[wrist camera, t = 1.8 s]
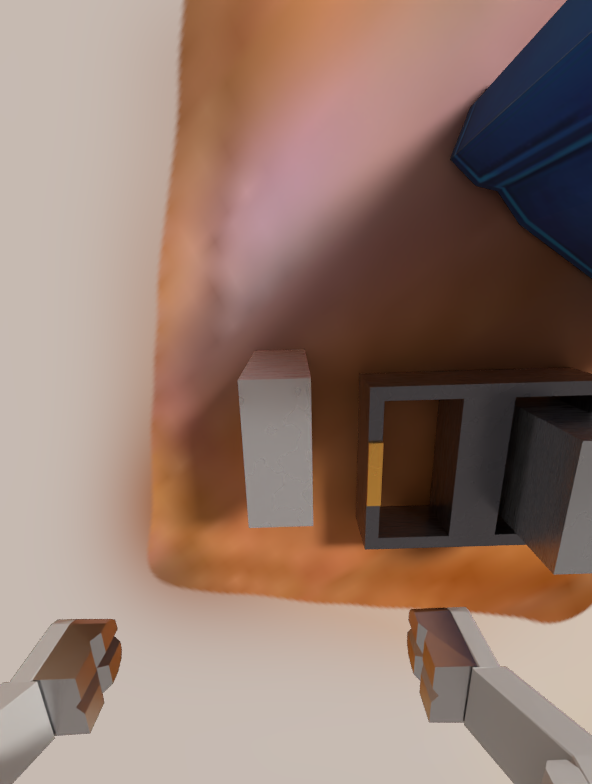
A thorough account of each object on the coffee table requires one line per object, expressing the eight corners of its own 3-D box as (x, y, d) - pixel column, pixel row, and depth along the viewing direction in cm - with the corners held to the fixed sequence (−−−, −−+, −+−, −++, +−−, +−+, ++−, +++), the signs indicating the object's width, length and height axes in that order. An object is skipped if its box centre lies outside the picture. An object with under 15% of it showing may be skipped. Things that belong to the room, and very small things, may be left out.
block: (254, 350, 27) (237, 380, 18) (304, 349, 27) (310, 378, 18) (261, 457, 30) (248, 527, 21) (306, 456, 30) (313, 525, 21)
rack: (359, 373, 28) (390, 412, 19) (568, 367, 28) (695, 403, 19) (355, 520, 31) (380, 608, 23) (540, 514, 31) (634, 601, 23)
